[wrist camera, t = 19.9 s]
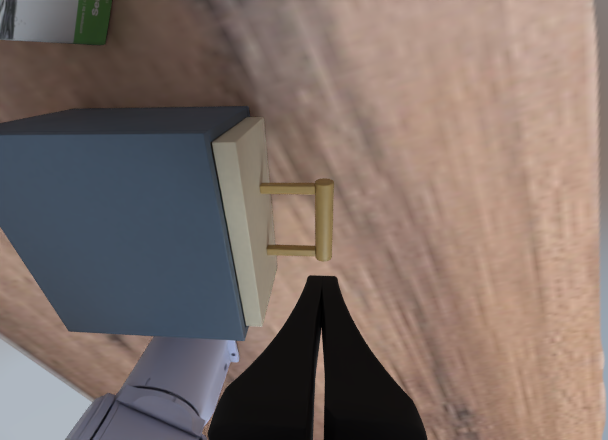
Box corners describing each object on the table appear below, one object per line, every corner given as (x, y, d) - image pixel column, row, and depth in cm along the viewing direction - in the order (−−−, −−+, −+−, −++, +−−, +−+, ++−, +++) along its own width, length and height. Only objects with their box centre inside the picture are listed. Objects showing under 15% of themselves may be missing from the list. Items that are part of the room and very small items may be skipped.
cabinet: (248, 105, 20) (203, 133, 13) (267, 266, 27) (244, 341, 20) (72, 108, 21) (-61, 135, 14) (135, 261, 28) (68, 331, 21)
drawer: (334, 116, 19) (336, 141, 13) (330, 268, 25) (330, 330, 20) (94, 118, 20) (1, 142, 14) (148, 262, 27) (99, 318, 21)
